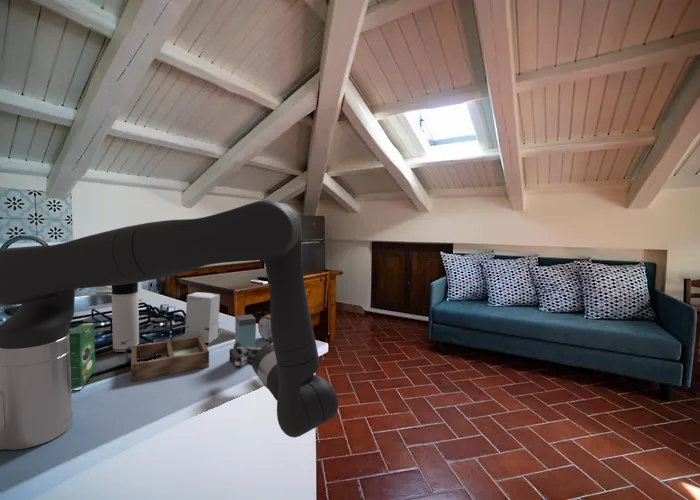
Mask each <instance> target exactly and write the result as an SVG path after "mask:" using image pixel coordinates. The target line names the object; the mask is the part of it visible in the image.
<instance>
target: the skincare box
mask: <svg viewBox="0 0 700 500" xmlns="http://www.w3.org/2000/svg"><path fill="white" fill-rule="evenodd" d="M220 296H221V294H218V293H211V292H198V291H196V292H193V293H190V294H187V295H186V310H185V328H184V329H185V330H184V338H190V337H197V336H201V337H202V339H203V341H204V343H209V344H211V343H212V342H214V341H215V340H217V339H218V338H217V337H218V334H219V318H220V317H219V316H220V300H221V299H220V298H221V297H220ZM216 338H217V339H216ZM214 339H215V340H214ZM213 340H214V341H213ZM210 342H211V343H210Z"/></svg>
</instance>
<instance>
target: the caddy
mask: <svg viewBox="0 0 700 500" xmlns="http://www.w3.org/2000/svg"><path fill="white" fill-rule="evenodd" d="M154 353H155V354H158V355H161V356H167V358H161V359H155V360H154V359H152V360H149V361H140V362H137V360H139V359H144V358H148V357H150V356H152V355H153V354H154ZM130 357H131V358H130V359H131V361H130V362H131V363H130V369H131V370H130V376H131V377H130V378H131V381H130V382H137V381H141V380H147V379H152V378H156V377H162V376H167V375H172V374H177V373H183V372H188V371H193V370H199V369H203V368H208V367H210V351H209V349H208V347H207V344H205V343H204V341H203V339H202V337H201V336H197V337H190V338H185V337H184V338H177V339H172V340H171V339H170V340H164V341H157V342H150V343H142V344H139V345H135V346H132V351H131V356H130Z"/></svg>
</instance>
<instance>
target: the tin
mask: <svg viewBox="0 0 700 500" xmlns="http://www.w3.org/2000/svg"><path fill="white" fill-rule="evenodd" d="M257 326H258V328H257V329H258V333H259V335H260V336H261V337H262V339H263V340H265V341H267V342H269V337H271V336H272V334H271V319H270V313H267V314H266V315H264V316H263V315H262V316H261V317H260V318H259V319H258V323H257Z"/></svg>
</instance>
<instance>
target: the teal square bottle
mask: <svg viewBox="0 0 700 500" xmlns="http://www.w3.org/2000/svg"><path fill="white" fill-rule="evenodd" d="M234 322H235V324H234V325H235V329H234V330H235V331H234V344H235V343H236V342H239V343H240V344H241V345H242V347H245V348H246V347H248V346H250V347H255V348H256V337H257V336H256V334H257V331H256V330H257V318H256V317H255V316H254V315H253V314H243V315H235V321H234ZM251 352H252V351H250V353H251ZM242 355H244V352H243V351H242Z"/></svg>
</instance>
